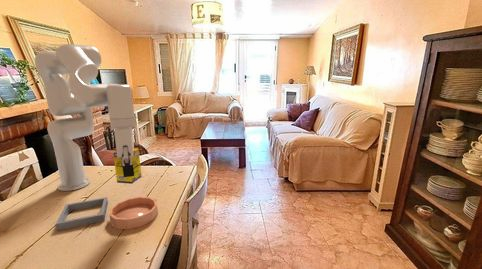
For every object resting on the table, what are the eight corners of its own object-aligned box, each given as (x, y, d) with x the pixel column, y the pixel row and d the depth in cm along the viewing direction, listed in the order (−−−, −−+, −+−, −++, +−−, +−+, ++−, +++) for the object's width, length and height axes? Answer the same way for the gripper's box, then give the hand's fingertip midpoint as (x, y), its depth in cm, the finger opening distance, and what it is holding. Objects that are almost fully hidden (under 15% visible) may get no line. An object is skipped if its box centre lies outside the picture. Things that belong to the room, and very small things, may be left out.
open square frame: (66, 210, 95) (65, 204, 94) (108, 202, 100) (107, 197, 99) (56, 230, 82) (55, 224, 82) (104, 220, 88) (103, 214, 87)
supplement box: (132, 184, 84) (128, 153, 81) (116, 183, 85) (112, 152, 82) (142, 177, 89) (139, 148, 87) (127, 176, 90) (123, 147, 88)
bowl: (112, 210, 94) (111, 201, 94) (155, 201, 100) (154, 193, 100) (109, 233, 80) (107, 223, 80) (159, 221, 86) (158, 213, 86)
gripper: (112, 119, 89) (118, 165, 93) (108, 128, 73) (115, 183, 77) (135, 117, 91) (140, 162, 96) (135, 126, 76) (141, 179, 80)
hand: (129, 171), depth 86 cm, fingers closed on supplement box, 8 cm apart
